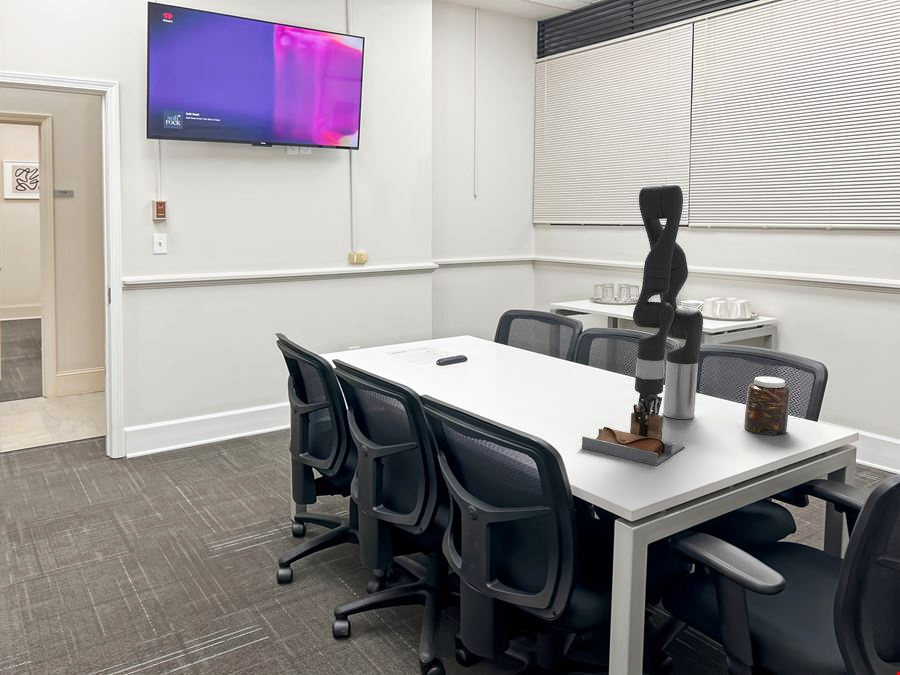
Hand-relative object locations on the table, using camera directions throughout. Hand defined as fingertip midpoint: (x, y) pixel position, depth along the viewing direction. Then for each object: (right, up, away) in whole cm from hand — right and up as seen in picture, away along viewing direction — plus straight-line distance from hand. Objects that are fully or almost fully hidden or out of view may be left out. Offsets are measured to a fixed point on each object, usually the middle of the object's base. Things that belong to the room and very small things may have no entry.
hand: (645, 435), depth 205 cm
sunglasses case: (-8, -3, -9) cm, 12 cm away
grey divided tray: (-4, -3, -5) cm, 7 cm away
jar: (+38, 0, +12) cm, 40 cm away
